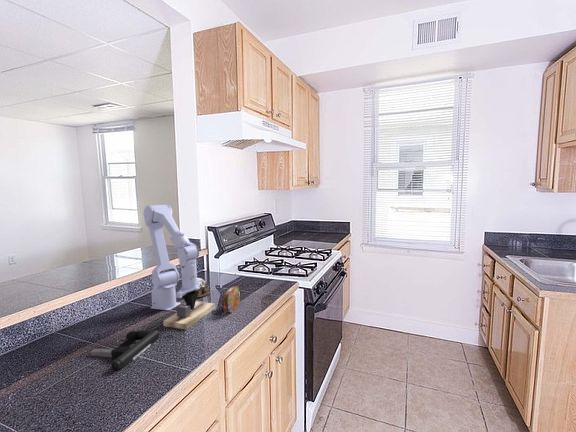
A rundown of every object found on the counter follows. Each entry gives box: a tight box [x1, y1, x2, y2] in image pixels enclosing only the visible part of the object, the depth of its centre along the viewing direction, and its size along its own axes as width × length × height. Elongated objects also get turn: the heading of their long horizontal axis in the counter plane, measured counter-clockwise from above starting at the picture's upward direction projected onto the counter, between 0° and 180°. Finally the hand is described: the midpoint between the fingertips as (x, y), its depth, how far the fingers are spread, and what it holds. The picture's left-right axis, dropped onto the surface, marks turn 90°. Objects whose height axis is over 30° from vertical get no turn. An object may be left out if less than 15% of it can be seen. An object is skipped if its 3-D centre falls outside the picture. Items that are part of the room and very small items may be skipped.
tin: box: [222, 285, 242, 313], centre depth 130 cm, size 15×3×8 cm, turn 168°
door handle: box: [90, 329, 160, 371], centre depth 98 cm, size 3×20×16 cm
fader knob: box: [175, 304, 191, 318], centre depth 118 cm, size 4×3×4 cm
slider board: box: [163, 300, 216, 330], centre depth 123 cm, size 10×20×2 cm, turn 163°
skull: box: [197, 277, 211, 298], centre depth 148 cm, size 12×10×10 cm
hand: (190, 309), depth 123 cm, fingers closed
